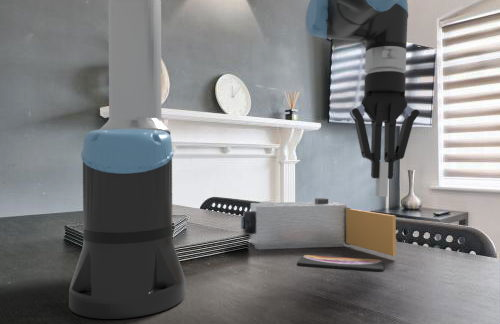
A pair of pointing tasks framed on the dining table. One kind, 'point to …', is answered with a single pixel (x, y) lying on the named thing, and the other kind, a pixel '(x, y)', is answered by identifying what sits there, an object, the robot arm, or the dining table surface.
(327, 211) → the silver box with door
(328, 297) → the dining table surface
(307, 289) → the dining table surface
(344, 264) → the smartphone
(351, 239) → the side door
